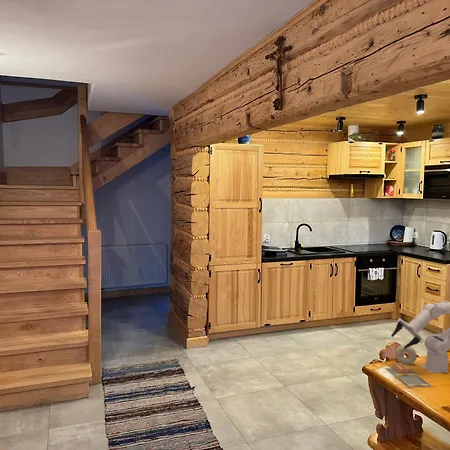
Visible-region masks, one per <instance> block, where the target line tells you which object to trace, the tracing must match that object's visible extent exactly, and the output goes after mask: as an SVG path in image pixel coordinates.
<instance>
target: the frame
mask: <svg viewBox="0 0 450 450" xmlns="http://www.w3.org/2000/svg"><path fill="white" fill-rule="evenodd" d="M403 376H416V377H417V378H419V379H420V380H421V381H423V382H424V383H425V384H414V385H409V384H407V383H406V382H405V381H404V380H403V379H401V378H400V377H403ZM395 377H396V378H395ZM395 377H394V378H395V379H397V378H398V379H399V380H400V381H401V382H403V383H404V384H405V385H406V386H407V387H419V388H430V387H429V386H432V385H431V384H430V383H429V382H428V381H426V380H425V379H424V378H423V377H421V376H420V375H419V374H418V373H415V374H395ZM398 379H397V380H398ZM399 380H398V381H399ZM400 381H399V382H400ZM401 382H400V383H401ZM403 383H402V384H403ZM404 384H403V385H404ZM405 385H404V386H405ZM406 386H405V387H406ZM407 387H406V388H407Z"/></svg>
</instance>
